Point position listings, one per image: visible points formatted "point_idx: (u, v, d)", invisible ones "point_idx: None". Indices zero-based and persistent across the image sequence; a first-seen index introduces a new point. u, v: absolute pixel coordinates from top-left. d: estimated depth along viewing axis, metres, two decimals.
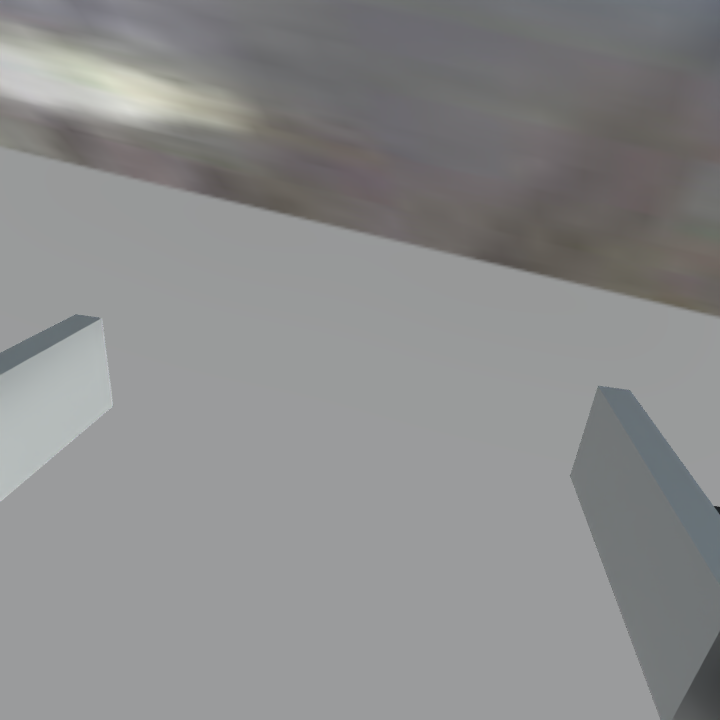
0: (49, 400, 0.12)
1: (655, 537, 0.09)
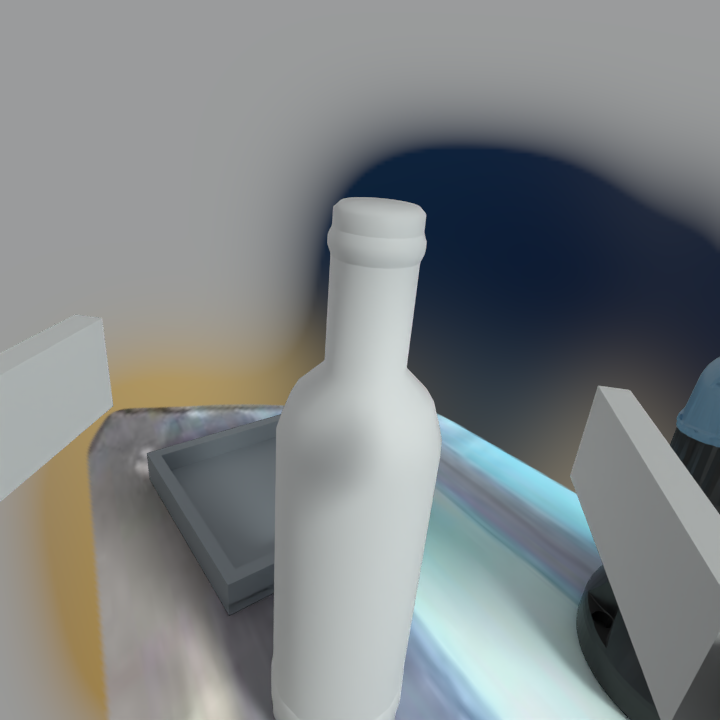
0: (49, 400, 0.12)
1: (655, 537, 0.09)
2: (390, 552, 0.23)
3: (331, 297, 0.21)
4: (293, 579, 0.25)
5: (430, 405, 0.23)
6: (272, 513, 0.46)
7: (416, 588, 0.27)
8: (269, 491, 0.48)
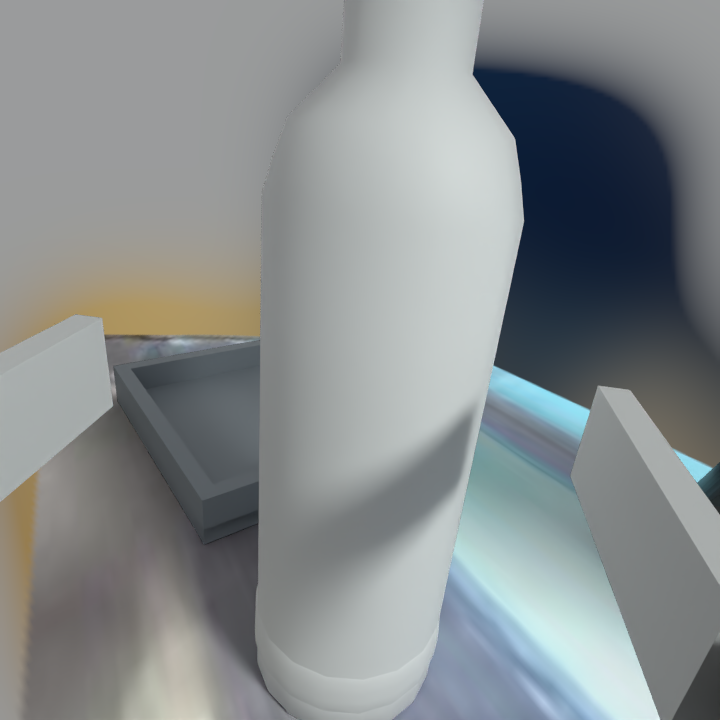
0: (49, 400, 0.12)
1: (655, 537, 0.09)
2: (443, 369, 0.14)
3: None
4: (286, 429, 0.16)
5: (510, 133, 0.14)
6: None
7: (471, 463, 0.18)
8: None
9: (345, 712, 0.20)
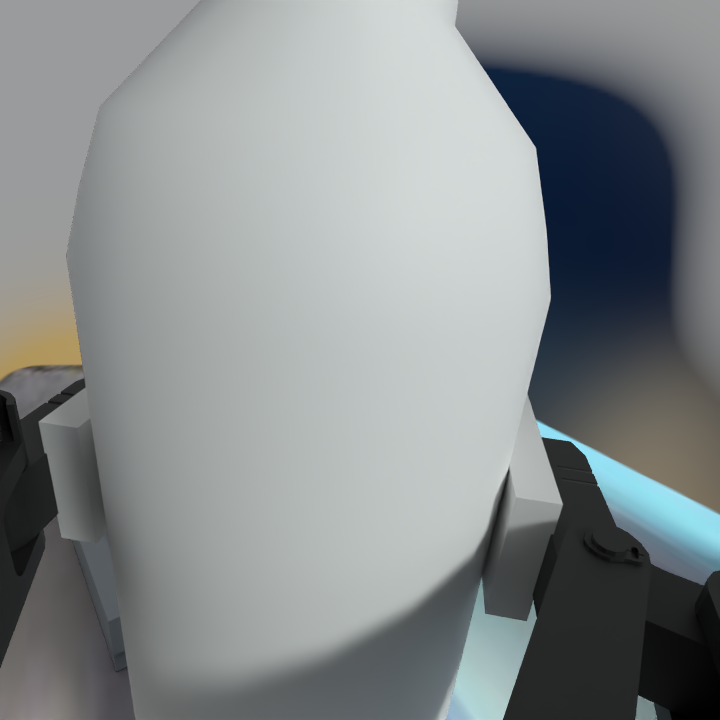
0: None
1: None
2: (402, 580, 0.08)
3: None
4: (138, 649, 0.09)
5: None
6: None
7: (459, 660, 0.11)
8: None
9: None
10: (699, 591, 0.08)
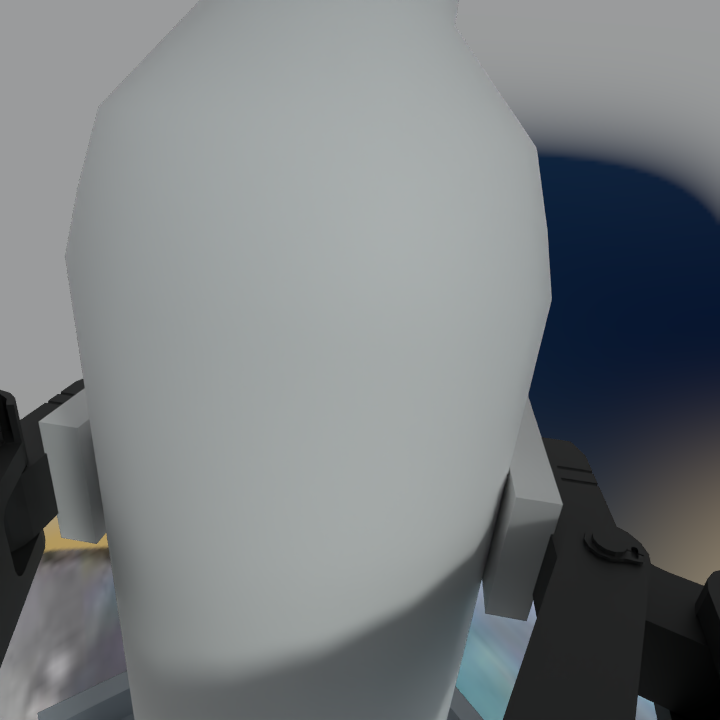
0: None
1: None
2: (403, 583, 0.08)
3: None
4: (137, 651, 0.09)
5: None
6: None
7: (460, 661, 0.11)
8: None
9: None
10: (699, 591, 0.08)
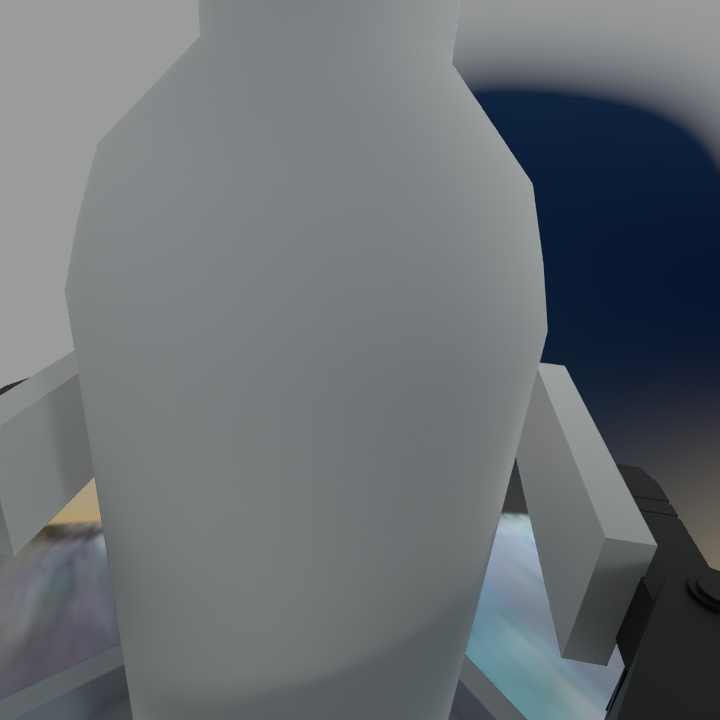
0: None
1: (563, 490, 0.10)
2: (400, 613, 0.08)
3: None
4: (138, 674, 0.09)
5: None
6: None
7: (457, 679, 0.11)
8: None
9: None
10: None
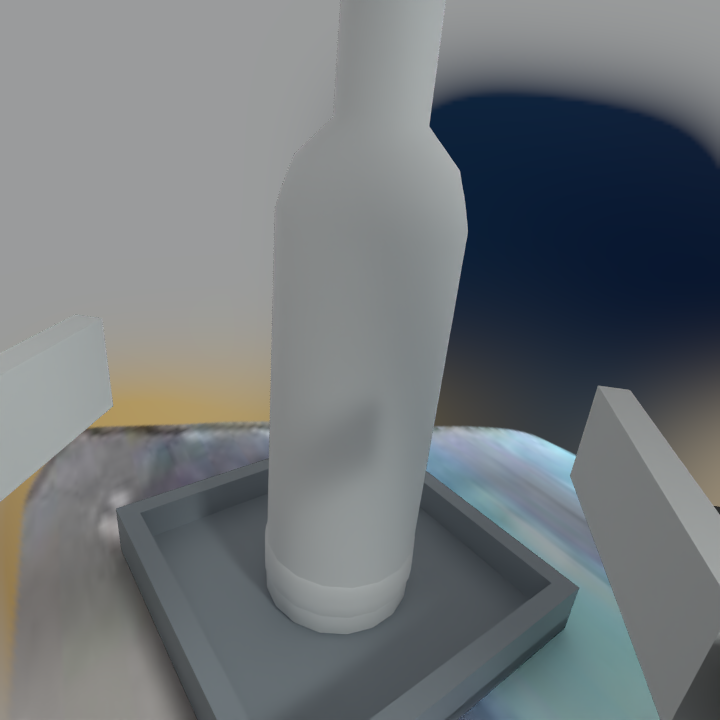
0: (49, 400, 0.12)
1: (655, 537, 0.09)
2: (408, 339, 0.20)
3: (343, 9, 0.18)
4: (293, 387, 0.21)
5: (457, 168, 0.20)
6: None
7: (434, 416, 0.23)
8: None
9: (338, 616, 0.25)
10: None
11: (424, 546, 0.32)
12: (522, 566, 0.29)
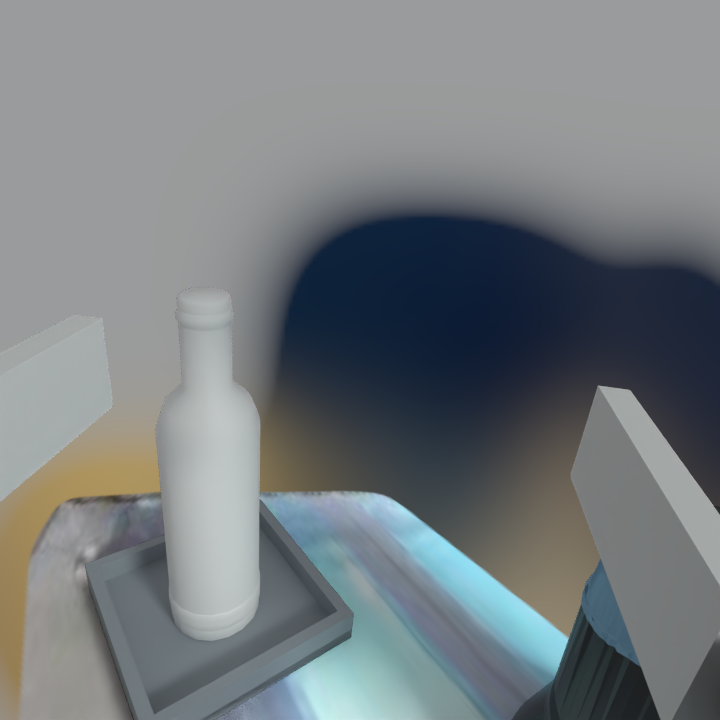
0: (49, 400, 0.12)
1: (655, 537, 0.09)
2: (221, 494, 0.39)
3: None
4: (168, 512, 0.40)
5: (246, 406, 0.39)
6: None
7: (252, 522, 0.42)
8: None
9: (205, 630, 0.44)
10: None
11: (277, 585, 0.51)
12: (327, 600, 0.48)
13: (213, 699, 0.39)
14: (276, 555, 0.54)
